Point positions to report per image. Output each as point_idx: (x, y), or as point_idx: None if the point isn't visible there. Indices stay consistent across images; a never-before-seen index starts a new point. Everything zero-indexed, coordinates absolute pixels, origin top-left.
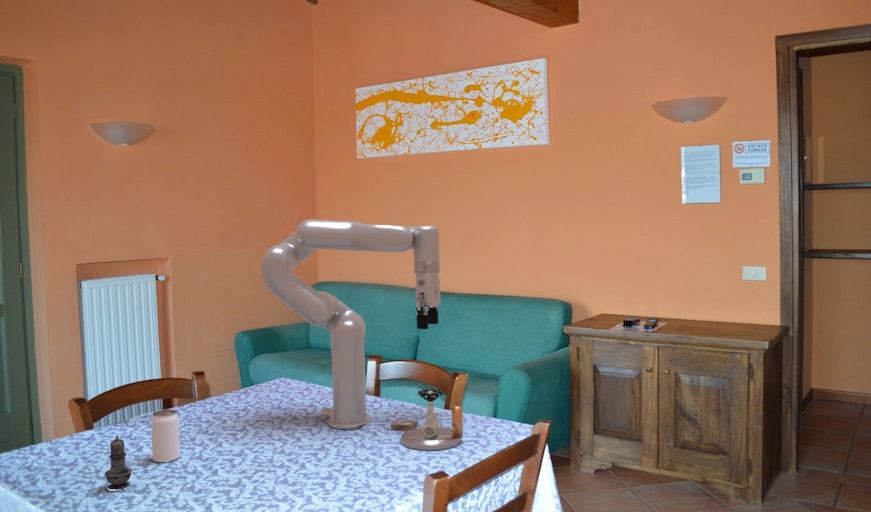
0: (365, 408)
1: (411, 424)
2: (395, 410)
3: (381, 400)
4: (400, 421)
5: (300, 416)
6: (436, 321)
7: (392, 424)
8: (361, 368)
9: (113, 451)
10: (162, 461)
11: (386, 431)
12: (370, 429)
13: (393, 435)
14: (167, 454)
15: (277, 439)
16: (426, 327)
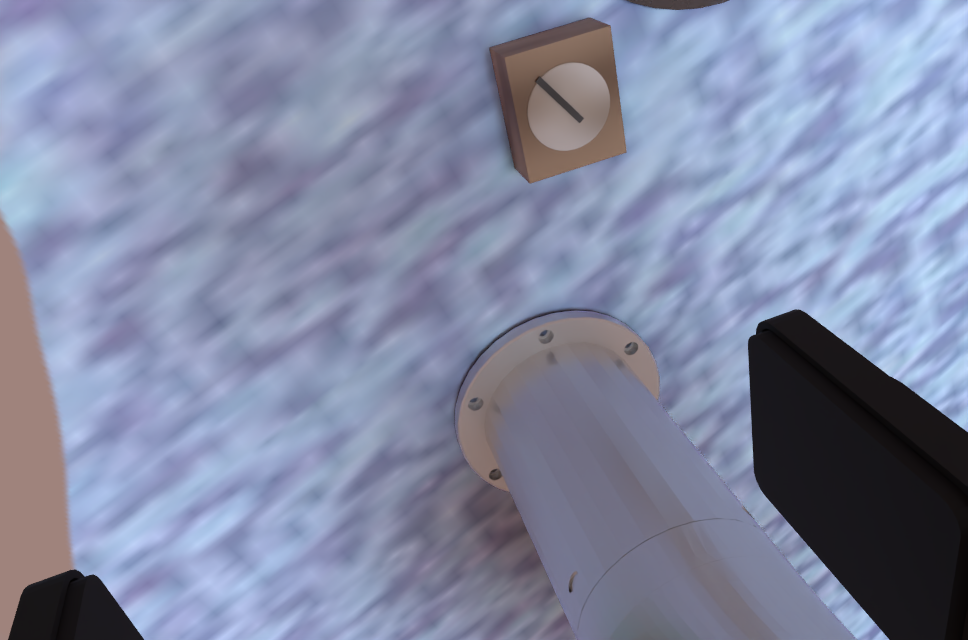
0: (555, 387)
1: (582, 43)
2: (231, 391)
3: (112, 573)
4: (561, 138)
5: (552, 611)
6: (89, 616)
7: (621, 145)
8: (711, 542)
9: None
10: None
11: (591, 177)
12: (593, 266)
13: (636, 100)
14: None
15: None
16: (810, 334)
